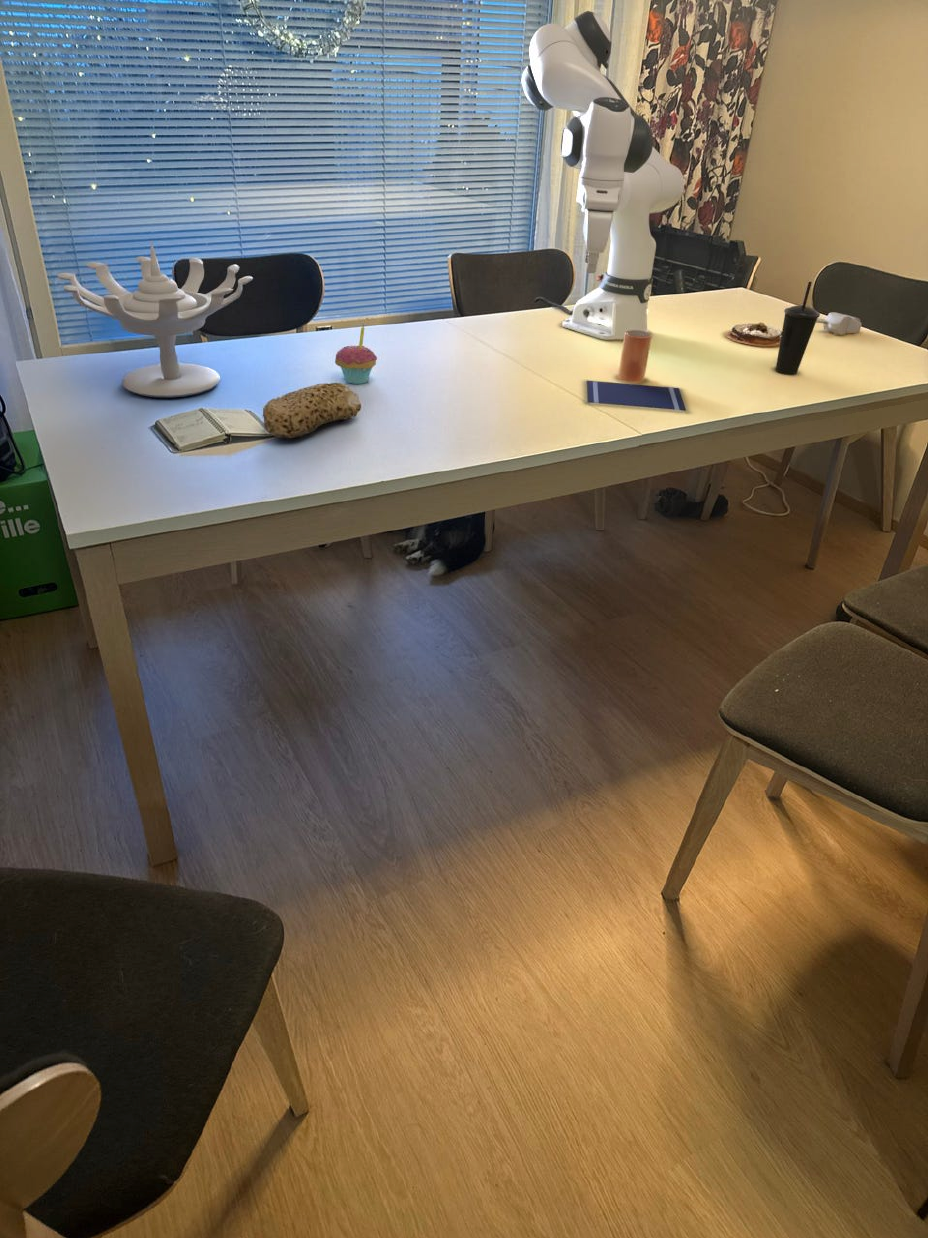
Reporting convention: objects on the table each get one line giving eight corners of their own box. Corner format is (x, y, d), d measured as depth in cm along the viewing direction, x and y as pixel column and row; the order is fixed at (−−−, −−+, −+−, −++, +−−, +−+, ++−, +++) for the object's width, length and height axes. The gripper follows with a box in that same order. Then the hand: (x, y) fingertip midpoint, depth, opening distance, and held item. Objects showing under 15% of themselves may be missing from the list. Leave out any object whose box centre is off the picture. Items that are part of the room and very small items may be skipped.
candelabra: (104, 427, 148) (71, 265, 133) (65, 370, 172) (33, 226, 157) (286, 400, 164) (275, 252, 149) (226, 351, 188) (212, 219, 173)
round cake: (715, 331, 222) (719, 315, 220) (764, 329, 226) (768, 314, 223) (744, 347, 210) (748, 330, 208) (796, 346, 214) (800, 329, 212)
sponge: (332, 412, 163) (238, 410, 150) (342, 374, 159) (246, 369, 146) (367, 446, 156) (272, 447, 143) (378, 407, 152) (281, 406, 139)
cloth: (587, 404, 171) (587, 402, 170) (586, 382, 182) (586, 380, 182) (685, 412, 169) (686, 410, 169) (678, 389, 181) (679, 387, 181)
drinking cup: (805, 378, 192) (831, 287, 181) (771, 374, 193) (794, 283, 182) (800, 368, 198) (825, 279, 187) (767, 365, 199) (790, 276, 188)
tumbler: (613, 379, 185) (620, 333, 179) (625, 373, 189) (632, 328, 183) (636, 385, 182) (644, 338, 176) (648, 379, 186) (656, 333, 180)
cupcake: (383, 377, 178) (382, 320, 171) (366, 389, 171) (365, 330, 165) (346, 371, 180) (344, 314, 174) (328, 383, 174) (326, 324, 167)
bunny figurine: (872, 319, 225) (840, 317, 217) (865, 338, 228) (832, 338, 220) (843, 310, 231) (810, 309, 223) (836, 329, 234) (803, 328, 226)
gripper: (581, 185, 175) (573, 255, 183) (585, 200, 158) (576, 277, 166) (611, 187, 175) (602, 258, 183) (619, 202, 158) (607, 279, 166)
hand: (589, 267), depth 174 cm, fingers open, 8 cm apart
